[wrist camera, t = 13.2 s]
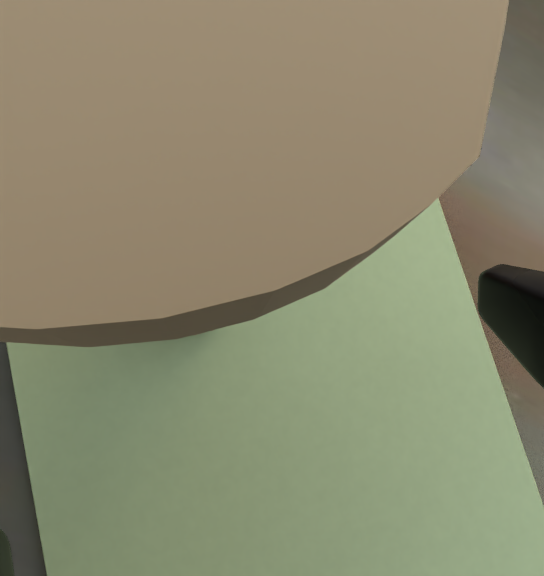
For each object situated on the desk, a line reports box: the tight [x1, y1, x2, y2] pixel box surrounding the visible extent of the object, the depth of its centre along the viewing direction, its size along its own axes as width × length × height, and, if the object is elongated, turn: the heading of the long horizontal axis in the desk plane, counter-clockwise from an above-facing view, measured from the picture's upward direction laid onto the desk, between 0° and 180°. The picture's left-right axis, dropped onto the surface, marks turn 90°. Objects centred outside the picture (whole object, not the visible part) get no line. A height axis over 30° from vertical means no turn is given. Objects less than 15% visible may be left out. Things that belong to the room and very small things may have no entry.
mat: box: [6, 198, 544, 576], centre depth 17 cm, size 20×16×1 cm
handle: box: [0, 0, 509, 347], centre depth 10 cm, size 5×6×15 cm
